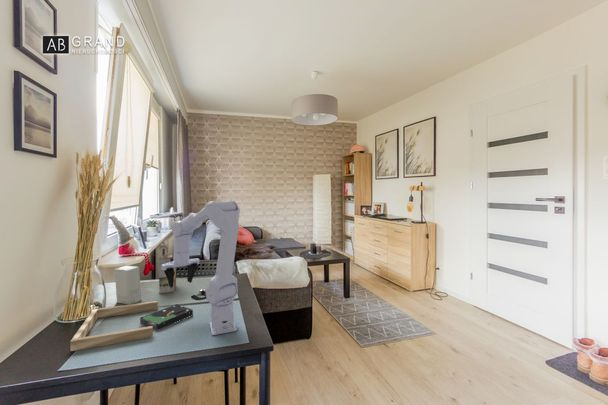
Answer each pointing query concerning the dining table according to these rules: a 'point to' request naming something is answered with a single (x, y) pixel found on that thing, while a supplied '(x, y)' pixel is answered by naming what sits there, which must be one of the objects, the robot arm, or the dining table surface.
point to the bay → (115, 337)
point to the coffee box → (163, 279)
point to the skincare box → (128, 284)
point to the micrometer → (202, 292)
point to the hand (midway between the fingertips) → (180, 284)
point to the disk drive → (166, 317)
